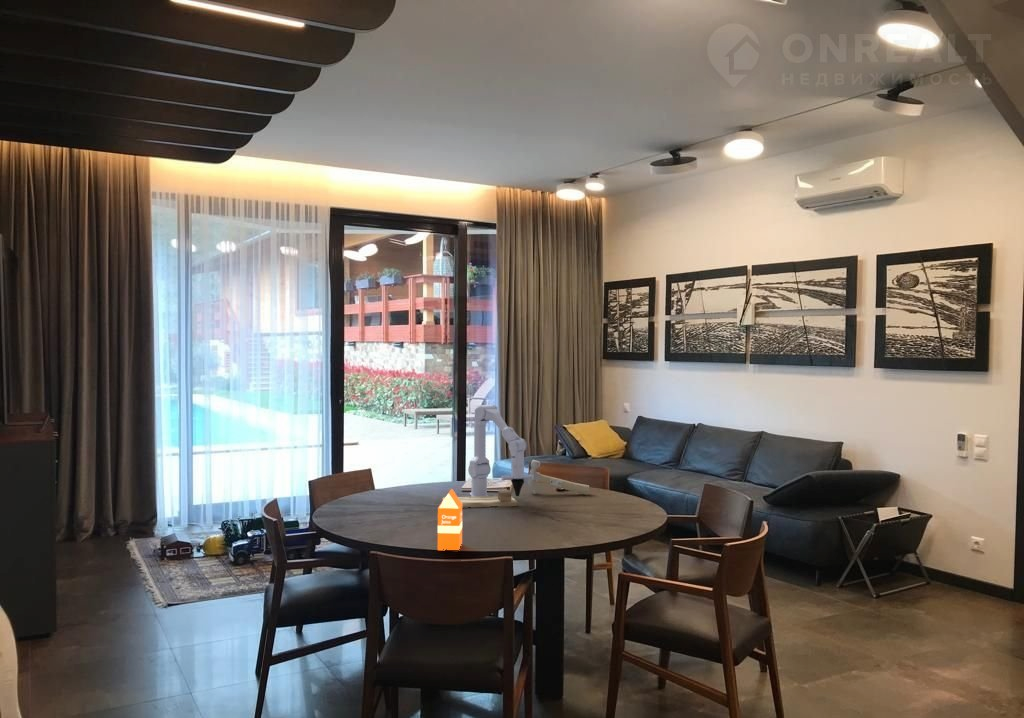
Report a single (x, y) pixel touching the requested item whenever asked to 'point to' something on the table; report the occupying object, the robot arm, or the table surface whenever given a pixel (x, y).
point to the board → (484, 501)
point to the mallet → (504, 495)
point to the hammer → (554, 481)
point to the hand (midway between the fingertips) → (517, 495)
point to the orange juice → (450, 523)
